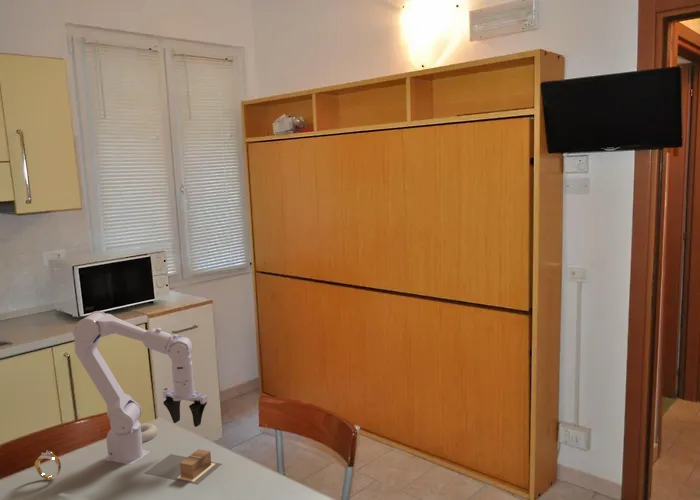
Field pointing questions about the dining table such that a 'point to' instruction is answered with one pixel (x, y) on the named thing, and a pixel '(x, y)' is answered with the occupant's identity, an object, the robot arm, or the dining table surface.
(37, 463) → the ring
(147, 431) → the donut
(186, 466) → the brown rectangular block
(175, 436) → the dining table surface
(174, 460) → the mat
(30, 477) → the dining table surface
